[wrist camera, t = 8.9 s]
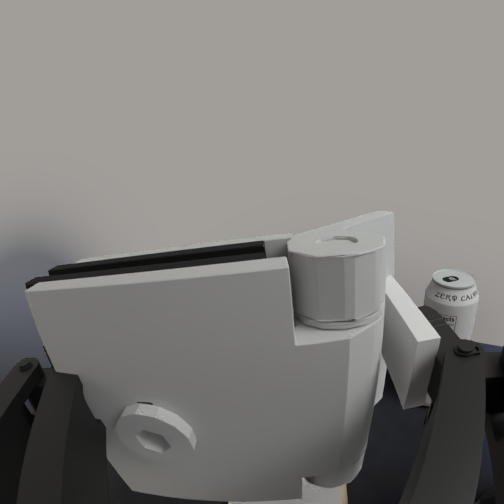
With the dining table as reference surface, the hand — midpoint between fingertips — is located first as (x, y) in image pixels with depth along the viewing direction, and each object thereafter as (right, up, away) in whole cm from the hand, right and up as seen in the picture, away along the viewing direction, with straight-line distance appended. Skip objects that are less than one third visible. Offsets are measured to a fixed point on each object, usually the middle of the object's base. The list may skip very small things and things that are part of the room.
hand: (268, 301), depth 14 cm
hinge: (0, -7, -3) cm, 8 cm away
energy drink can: (+21, -15, +14) cm, 29 cm away
